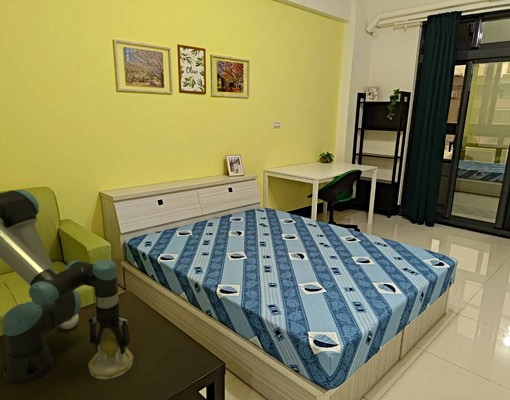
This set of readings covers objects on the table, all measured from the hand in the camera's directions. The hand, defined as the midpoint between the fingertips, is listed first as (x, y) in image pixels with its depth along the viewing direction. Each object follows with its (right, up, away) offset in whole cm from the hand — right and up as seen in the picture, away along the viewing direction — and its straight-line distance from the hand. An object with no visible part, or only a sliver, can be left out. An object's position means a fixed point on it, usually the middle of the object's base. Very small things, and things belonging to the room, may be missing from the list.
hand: (111, 359), depth 131 cm
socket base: (0, -2, +1) cm, 2 cm away
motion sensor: (-27, +4, +21) cm, 35 cm away
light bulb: (0, -1, 0) cm, 1 cm away
